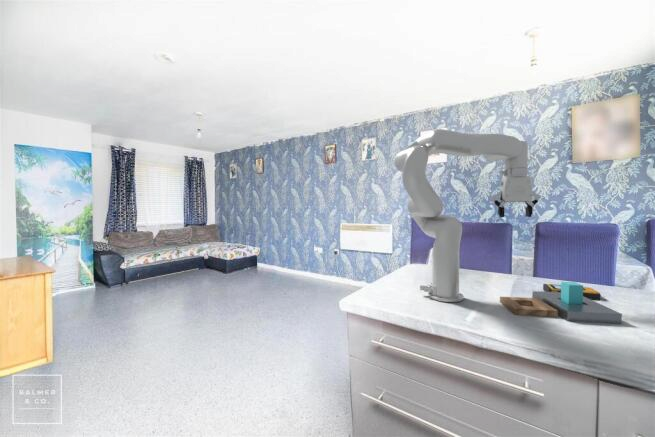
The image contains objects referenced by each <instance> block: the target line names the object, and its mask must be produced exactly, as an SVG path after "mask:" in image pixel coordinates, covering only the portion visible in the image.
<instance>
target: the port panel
mask: <svg viewBox="0 0 655 437" xmlns="http://www.w3.org/2000/svg"><path fill="white" fill-rule="evenodd" d="M531 298H537V299H539V300H541V301H542V302H544V303H546V304H547V305H549V306H551V307H552V308H554V309H556V310H557V311H558V316H557V317H560V318H561V319H563V320H565V321H567V322H577V323H578V322H580V323H596V324H614V325H616V324H617V325H622V322H623V320H622V319H623V313H621V312H618V311H616V310H614V309H612V308H609V307H607V306H605V305H603V304H601V303H599V302H596V300H593V299H588V298H586V297H584V296H583V305H581V304H567V303H565V302H563V301H561V292H545V291H539V290H538V291H535V290H534V291H533V290H532V297H531Z"/></svg>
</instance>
